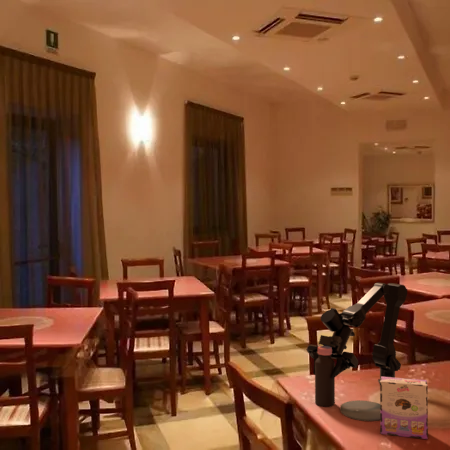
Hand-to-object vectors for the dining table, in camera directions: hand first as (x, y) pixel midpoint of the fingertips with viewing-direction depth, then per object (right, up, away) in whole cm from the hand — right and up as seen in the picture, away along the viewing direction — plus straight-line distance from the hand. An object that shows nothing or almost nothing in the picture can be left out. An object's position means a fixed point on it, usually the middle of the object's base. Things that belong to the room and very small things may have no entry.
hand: (322, 376), depth 188 cm
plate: (+13, -10, -7) cm, 18 cm away
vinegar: (+1, -10, +1) cm, 10 cm away
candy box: (+20, -11, -24) cm, 33 cm away
